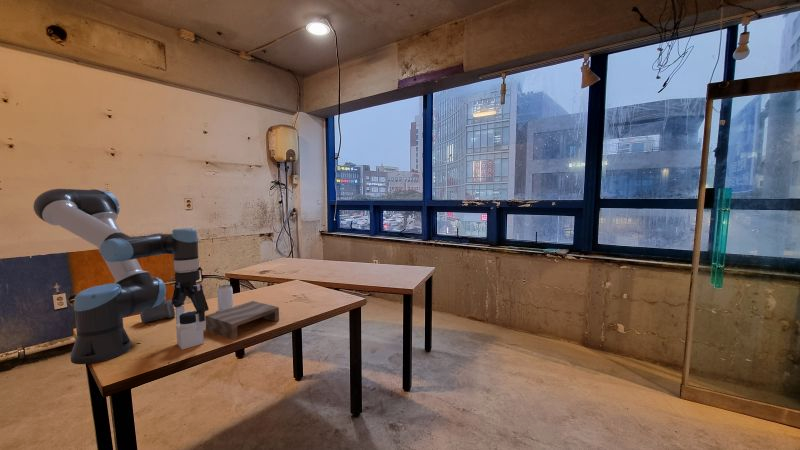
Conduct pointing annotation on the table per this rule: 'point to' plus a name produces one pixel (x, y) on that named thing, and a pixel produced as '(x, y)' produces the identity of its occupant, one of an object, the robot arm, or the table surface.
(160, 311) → the pipe fitting
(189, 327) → the medicine bottle
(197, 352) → the table surface
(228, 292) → the can
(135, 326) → the table surface
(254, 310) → the shelf stand
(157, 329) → the table surface
